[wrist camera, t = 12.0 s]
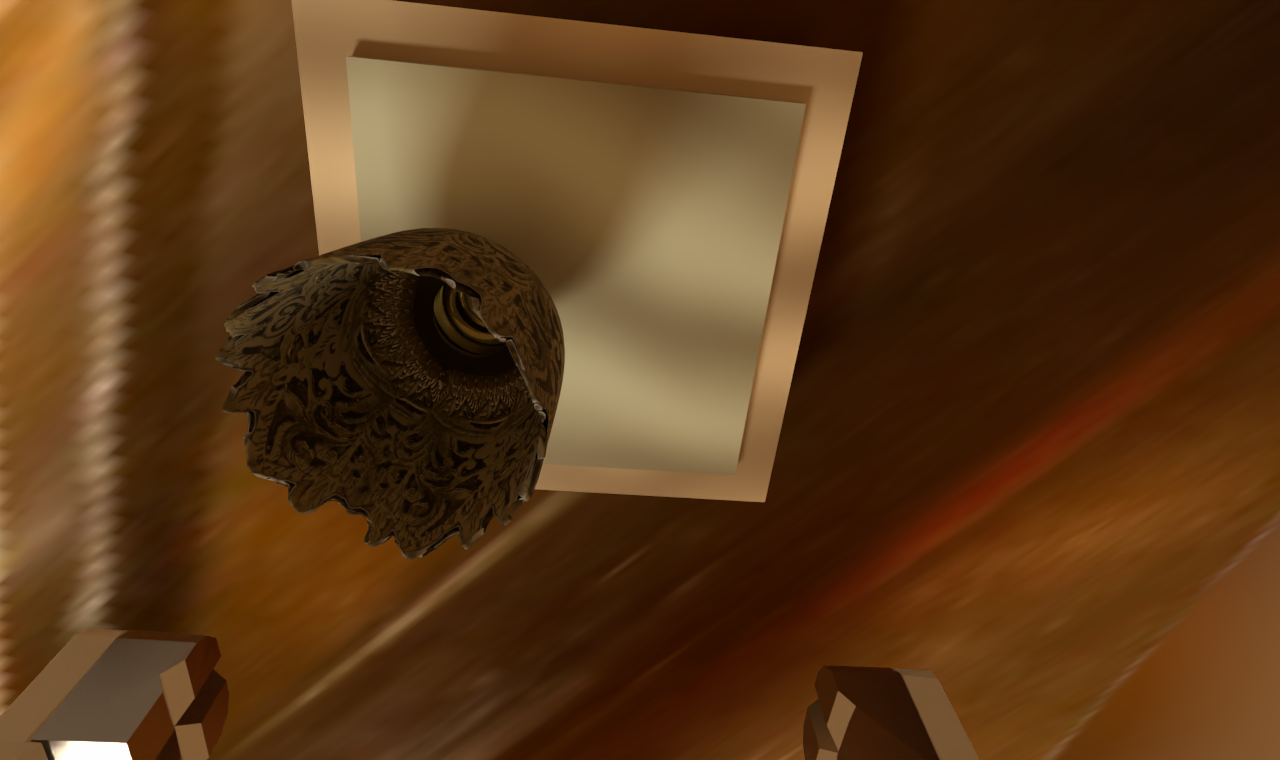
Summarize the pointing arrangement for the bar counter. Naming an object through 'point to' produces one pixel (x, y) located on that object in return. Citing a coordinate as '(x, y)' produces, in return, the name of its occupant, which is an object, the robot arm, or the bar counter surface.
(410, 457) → the cup
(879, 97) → the bar counter surface
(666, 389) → the tan square lid
